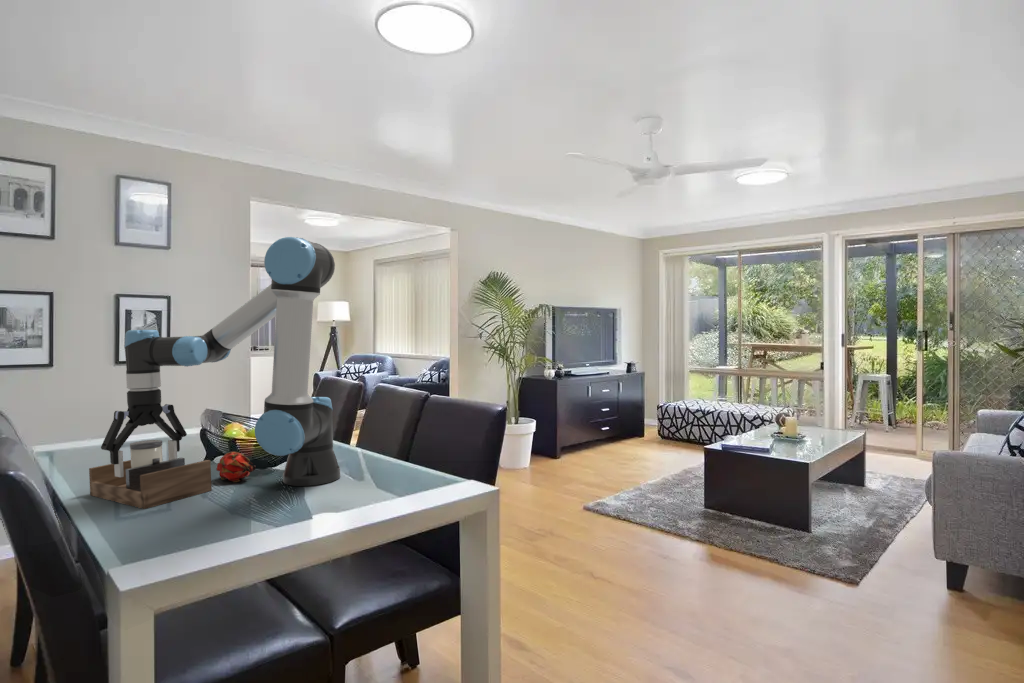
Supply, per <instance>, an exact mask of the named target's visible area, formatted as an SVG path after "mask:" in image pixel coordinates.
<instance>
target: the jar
mask: <svg viewBox="0 0 1024 683" xmlns="http://www.w3.org/2000/svg"><path fill="white" fill-rule="evenodd" d="M129 449H130V460H131V468H134V467H139V466H144V465H148V464H153V463H152V459H155V458H160V462H163V440H161V439H147V440H141V441H140V440H139V441H135V442H131V443H129Z"/></svg>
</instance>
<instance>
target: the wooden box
mask: <svg viewBox="0 0 1024 683" xmlns="http://www.w3.org/2000/svg"><path fill="white" fill-rule="evenodd" d="M130 468H131V459H129V460H123V471H124V477H116V476H115V470H114V464H111V463H109V464H108V463H107V464H103V465H98V466H95V467H94V466H93V467H90V468H88V473H89V495H90V496H92V497H96V498H100V499H103V500H107V501H110V500H111V502H114V501H115V502H116V503H118V504H119V503H120V504H123V505H127V506H131V507H134V506H135V507H134V508H137V507H138V509H141V508H142V510H147V509H150V508H154V507H157V506H158V507H159V506H161V505H164V504H168V503H171V502H176V501H179V500H183V499H186V498H190V497H195V496H197V495H202V494H204V493H208V492H212V469H211V468H212V467H211V460H210V459H205V460H201V461H198V462H192V463H188V464H185V465H183V466H178V467H174V468H169V469H165V470H161V471H156V472H152V473H147V474H143V475H140V488H141V492H139V491H135V490H131V489H127V488H126V469H130Z"/></svg>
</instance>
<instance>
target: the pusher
mask: <svg viewBox="0 0 1024 683" xmlns="http://www.w3.org/2000/svg"><path fill="white" fill-rule="evenodd" d="M185 458H186V457H177V459H172V460H169V459H167V460H164V461H163V462H160V458H155V459H152V463H153V464H148V465H144V466H139V467H134V468H130V469H126V488H127V489H131V490H135V491H139V492H141V488H140V475H143V474H147V473H152V472H156V471H161V470H165V469H169V468H174V467H178V466H183V465H186V461H185Z"/></svg>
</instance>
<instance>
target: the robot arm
mask: <svg viewBox="0 0 1024 683" xmlns="http://www.w3.org/2000/svg"><path fill="white" fill-rule="evenodd" d="M263 262H264V269H265V272H266V273H267V275H268V276H269V277H270V279H271V284H269V285H268V286H267V287H265V288H264V289H263V290H261V291H260V292H258V293H257V294H256V295H255V296H253V297H252V298H251V299H249V300H248V301H247V302H245V303H244V304H243V305H242V306H240V307H239V308H237V309H236V310H234V311H233V312H232V313H230V315H228V316H226V317H225V318H224V319H223V320H222V321H220V322H218V323H217V324H216V325H215V326H213V328H211V329H210V330H208V331H207V332H205V333H204V334H202V335H193V336H192V335H191V336H190V335H188V336H187V335H185V336H160V333H159V330H157V329H131V330H130V329H129V330H127V331H126V332H125V334H124V336H125V337H124V338H125V339H124V354H125V356H124V357H125V368H126V372H125V373H126V374H125V376H126V377H125V378H126V389H128V390H127V392H126V401H127V402H126V404H127V409H126V411H122V410H114V413H113V419H112V422H111V425H110V427H109V429H108V430H107V431H108V432H107V433H106V435H105V437H104V439H103V442H102V444H101V446H100V449H101V450H103V451H108V452H109V454H110V455H109V457H110V464H114V470H115V476H116V477H124V471H123V461H124V451H123V450H121V448H122V447H123V445H124V444H125V443H126V441H127V440H128V439H129V437H130V436H131V435H132V433H133V432H134V431H135V430H136V429H138V427H144V426H147V425H154V424H155V425H156V426H157V427H158V428H159V429H161V431H163V433H164V434H166V435H167V437H169V438H170V439H169V440H168V441H167V446H168V450H167V451H168V460H172V459H177V458H178V452H180V450H181V447H180V444H181V443H180V441H182V439H183V437H187V435H188V433H187V432H186V430H185V428H184V426H183V424H182V423H181V421H180V420H179V418H178V416H177V415H176V412H175V406H174V405H173V404H167V403H166V404H164V405H162V390H161V389H160V387H162V383H161V382H162V381H161V367H167V366H168V367H193V366H200V365H202V364H206V363H217V362H220V361H223V360H226V358H228V357H229V355H230V353H231V350H232V349H233V348H235V347H236V346H238V345H239V344H240V343H242V342H243V341H244V340H246V339H247V338H248V337H250V336H251V335H252V334H254V333H255V332H257V331H259V329H261V328H262V327H263V326H265V325H266V324H267V323H269V322H271V321H272V320H273V319H274V318H275V326H274V327H275V329H274V330H275V331H274V345H273V346H274V347H273V348H274V349H273V362H272V364H273V366H272V379H271V380H272V381H271V393H270V394H269V395H268V396H267V397H265V398H264V402H263V403H264V407H263V408H264V409H263V413H262V414H261V415H260V416H259V418H258V419H257V421H256V422H255V425H254V436H255V440H256V442H257V443H258V445H259V446H260V447H261V448H262V449H263V451H265V452H267V453H268V454H269V455H274V456H278V457H280V456H287V455H288V456H287V459H286V464H285V468H284V470H283V473H282V482H283V484H285V485H288V486H293V487H308V486H310V487H311V486H318V485H319V486H320V485H323V484H324V485H325V484H328V483H331V482H335V481H337V480H338V479H340V477H341V468H340V465H339V463H338V459H337V456H336V454H335V451H334V437H333V436H334V435H333V434H334V431H333V430H334V429H333V428H334V427H333V410H334V409H333V404H332V399H331V398H330V397H328V396H310V395H309V391H308V389H309V379H310V378H309V377H310V376H309V374H310V362H311V361H310V360H311V345H312V344H311V343H312V328H313V327H312V325H313V315H314V314H313V310H314V300H316V299H317V297H319V296H320V295H321V288H323V287H324V286H325V285H327V283H328V282H329V281H330V280H331V279H332V277H333V275H334V273H335V267H336V263H335V258H334V256H333V255H332V253H331V251H330V250H329V249H328V248H326V247H325V246H324V245H322V244H320V243H317V242H312V241H310V240H307V239H305V238H303V237H302V238H301V237H294V236H285V237H282V238H279V239H277V240H275V241H274V242H273V243H271V244H270V245H269V247H268V249H267V251H266V253H265V256H264V261H263ZM162 413H163V414H165V416H166V418H167V420H168V421H169V423H170V425H171V426H172V427H171V426H170V425H169V424H168V423H167V422H166V421H165V419H164V418H162V416H161V414H162ZM127 418H128V420H127V422H126V423H125V426H124V427H123V428H122V426H123V423H124V420H126V419H127ZM121 428H122V430H121ZM120 430H121V431H120ZM119 432H120V433H119Z"/></svg>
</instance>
